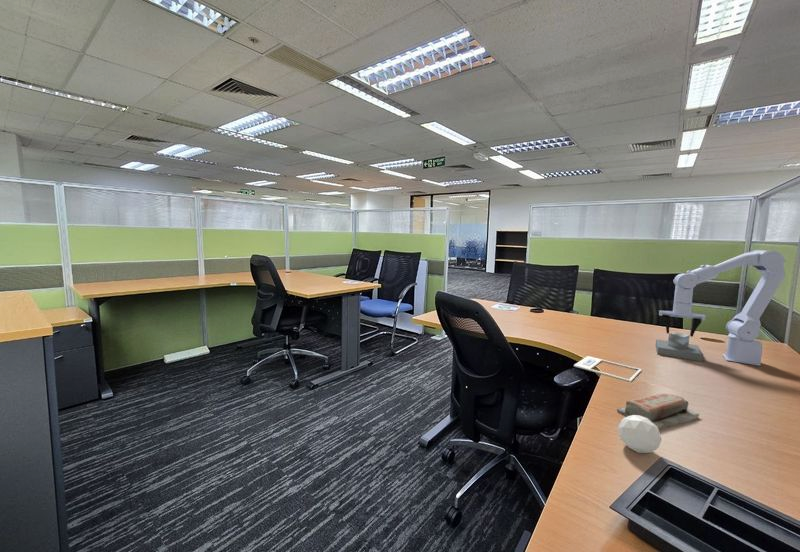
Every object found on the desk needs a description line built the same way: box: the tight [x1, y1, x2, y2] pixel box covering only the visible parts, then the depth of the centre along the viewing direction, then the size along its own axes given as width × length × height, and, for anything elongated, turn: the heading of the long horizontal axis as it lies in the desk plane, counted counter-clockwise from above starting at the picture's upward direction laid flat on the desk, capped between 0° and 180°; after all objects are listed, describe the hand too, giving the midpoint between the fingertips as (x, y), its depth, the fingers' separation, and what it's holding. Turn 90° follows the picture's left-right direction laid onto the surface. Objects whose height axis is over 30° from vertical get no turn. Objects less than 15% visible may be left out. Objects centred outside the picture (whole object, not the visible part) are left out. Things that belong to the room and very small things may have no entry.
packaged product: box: [616, 393, 700, 430], centre depth 89 cm, size 18×5×10 cm
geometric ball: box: [617, 415, 662, 454], centre depth 74 cm, size 8×8×8 cm
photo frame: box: [573, 355, 643, 383], centre depth 121 cm, size 15×1×18 cm
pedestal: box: [655, 338, 704, 362], centre depth 139 cm, size 14×14×3 cm
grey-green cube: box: [667, 331, 691, 349], centre depth 138 cm, size 5×5×5 cm
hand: (679, 334), depth 138 cm, fingers open, 7 cm apart
